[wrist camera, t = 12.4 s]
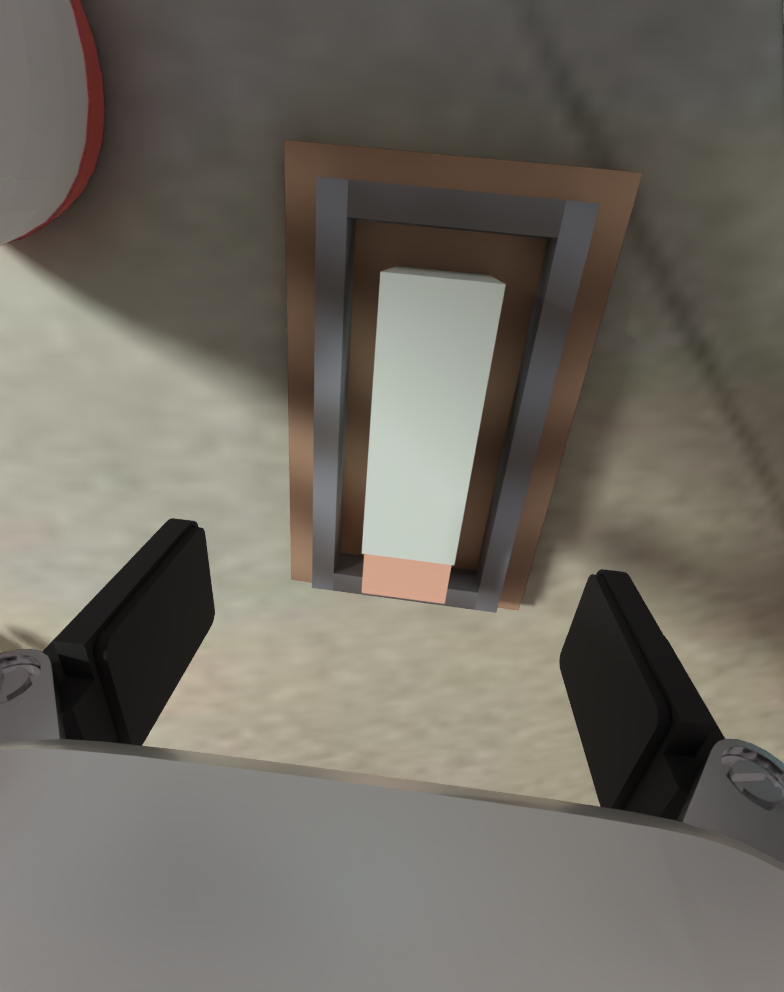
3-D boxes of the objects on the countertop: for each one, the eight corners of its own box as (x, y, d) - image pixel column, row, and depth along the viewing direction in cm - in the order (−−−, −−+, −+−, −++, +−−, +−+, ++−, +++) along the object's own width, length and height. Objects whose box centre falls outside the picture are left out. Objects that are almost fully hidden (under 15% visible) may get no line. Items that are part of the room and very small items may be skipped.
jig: (292, 145, 20) (267, 128, 17) (631, 176, 19) (664, 164, 16) (296, 568, 30) (281, 601, 27) (515, 597, 29) (523, 634, 27)
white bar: (397, 265, 20) (380, 271, 15) (489, 275, 20) (505, 284, 15) (375, 536, 27) (358, 606, 22) (444, 545, 27) (444, 618, 21)
